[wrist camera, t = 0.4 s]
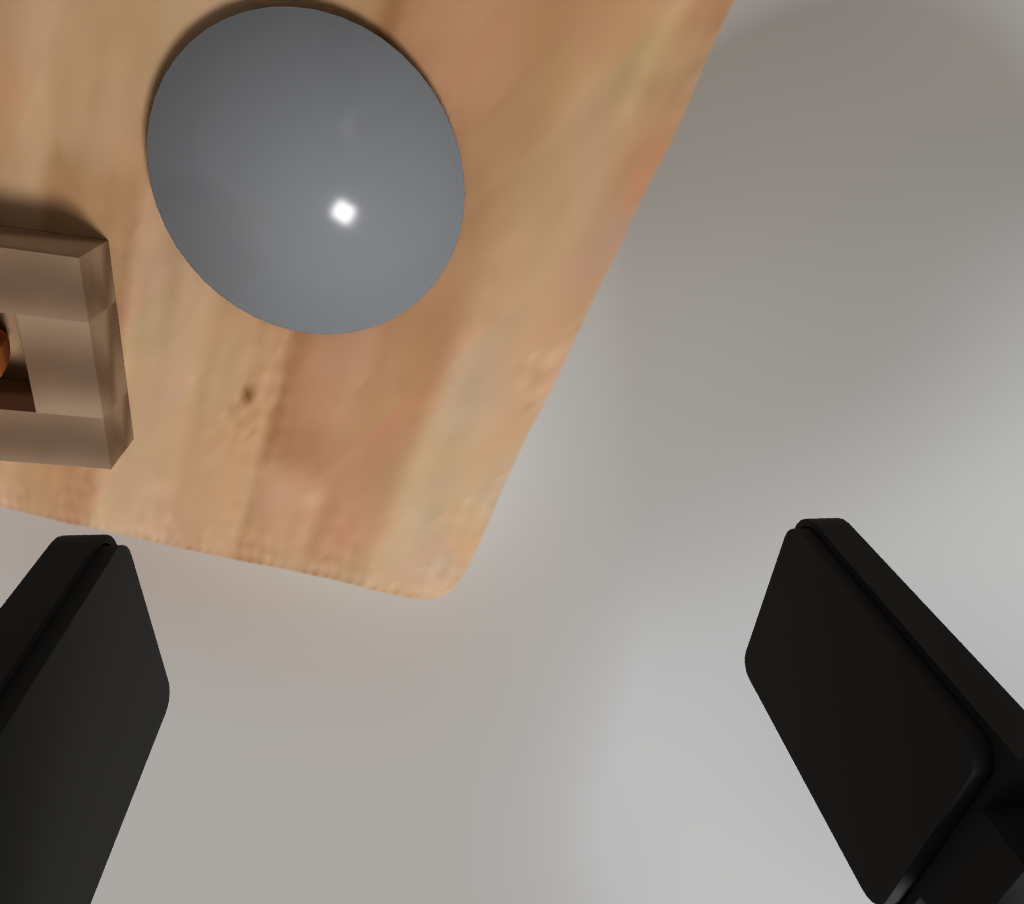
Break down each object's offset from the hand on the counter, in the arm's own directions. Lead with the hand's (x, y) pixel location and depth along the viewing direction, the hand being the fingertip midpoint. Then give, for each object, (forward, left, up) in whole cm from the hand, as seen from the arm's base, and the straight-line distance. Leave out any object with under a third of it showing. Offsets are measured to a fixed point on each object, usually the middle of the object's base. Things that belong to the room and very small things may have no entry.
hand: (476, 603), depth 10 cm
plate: (+1, -7, -36) cm, 37 cm away
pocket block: (+13, -26, -36) cm, 47 cm away
